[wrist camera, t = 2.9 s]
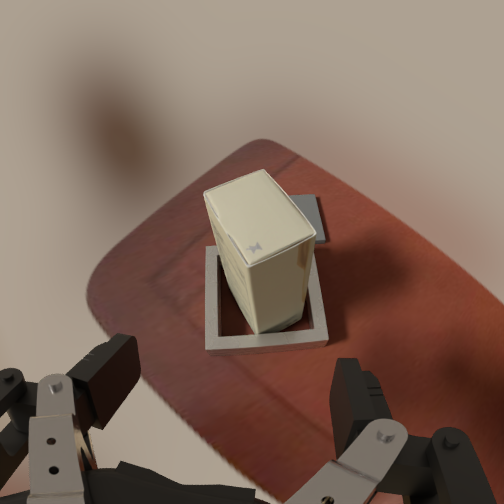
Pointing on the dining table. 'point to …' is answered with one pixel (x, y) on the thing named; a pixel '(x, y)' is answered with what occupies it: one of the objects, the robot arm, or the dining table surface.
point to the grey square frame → (259, 342)
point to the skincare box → (262, 249)
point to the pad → (310, 213)
